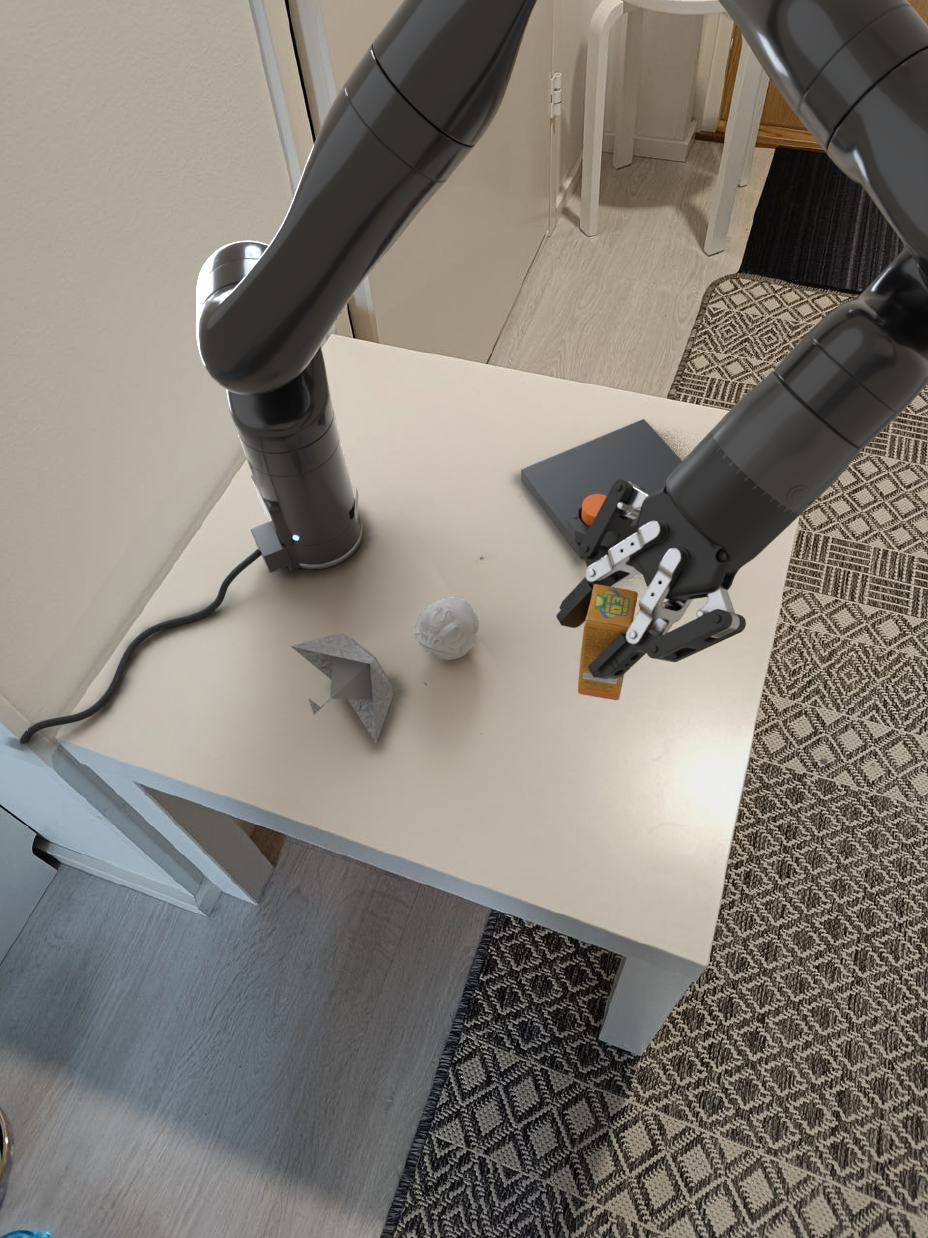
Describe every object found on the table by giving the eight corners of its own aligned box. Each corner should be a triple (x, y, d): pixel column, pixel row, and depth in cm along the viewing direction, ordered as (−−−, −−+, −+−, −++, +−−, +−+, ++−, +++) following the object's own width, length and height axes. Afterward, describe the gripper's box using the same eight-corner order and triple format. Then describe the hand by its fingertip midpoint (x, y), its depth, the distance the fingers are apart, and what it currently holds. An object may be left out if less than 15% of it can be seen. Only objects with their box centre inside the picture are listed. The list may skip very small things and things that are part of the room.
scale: (585, 566, 94) (586, 545, 91) (520, 480, 101) (520, 457, 98) (713, 509, 97) (719, 486, 94) (642, 429, 105) (645, 406, 102)
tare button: (591, 532, 92) (592, 521, 91) (575, 512, 94) (576, 500, 93) (618, 521, 93) (619, 509, 92) (602, 500, 95) (603, 489, 93)
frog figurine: (405, 665, 88) (396, 626, 83) (439, 612, 92) (433, 571, 86) (460, 689, 87) (455, 650, 81) (492, 634, 90) (490, 593, 84)
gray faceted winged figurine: (432, 691, 85) (374, 753, 79) (400, 712, 90) (343, 772, 84) (347, 596, 84) (282, 651, 78) (319, 623, 89) (255, 677, 83)
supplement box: (622, 703, 67) (631, 629, 59) (577, 695, 68) (579, 620, 60) (629, 666, 69) (638, 588, 61) (584, 658, 70) (587, 581, 62)
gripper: (859, 559, 54) (663, 732, 62) (727, 413, 62) (568, 584, 70) (803, 533, 49) (596, 726, 57) (666, 378, 57) (502, 567, 65)
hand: (581, 647), depth 63 cm, fingers closed on supplement box, 4 cm apart
